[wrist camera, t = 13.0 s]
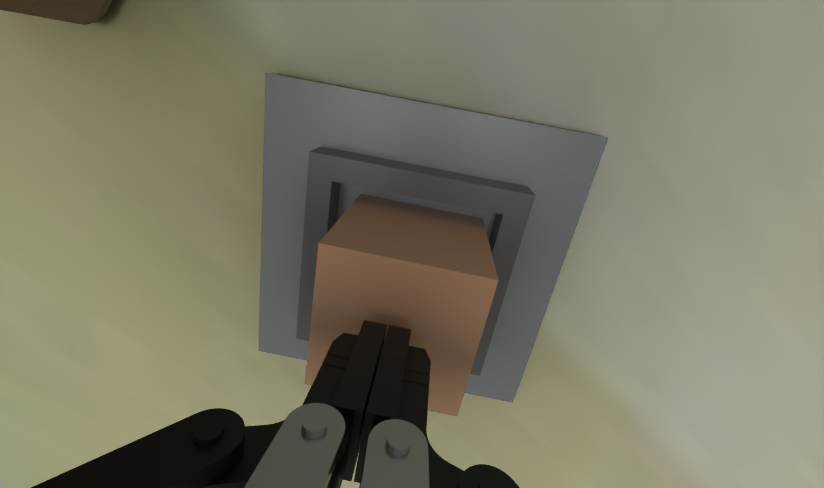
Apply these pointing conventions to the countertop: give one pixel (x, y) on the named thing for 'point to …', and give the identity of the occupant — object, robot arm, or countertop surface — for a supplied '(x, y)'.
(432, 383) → the brick
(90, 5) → the wooden block
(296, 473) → the robot arm
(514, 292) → the socket board
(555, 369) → the countertop surface
